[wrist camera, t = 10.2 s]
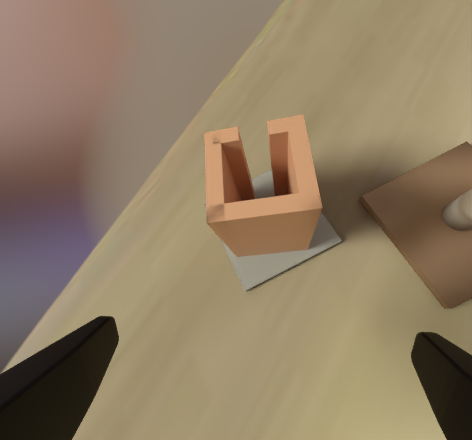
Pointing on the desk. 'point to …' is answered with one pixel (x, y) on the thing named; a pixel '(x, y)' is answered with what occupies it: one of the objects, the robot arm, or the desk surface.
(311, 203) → the c link
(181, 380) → the desk surface
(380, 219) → the stand
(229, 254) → the mat
